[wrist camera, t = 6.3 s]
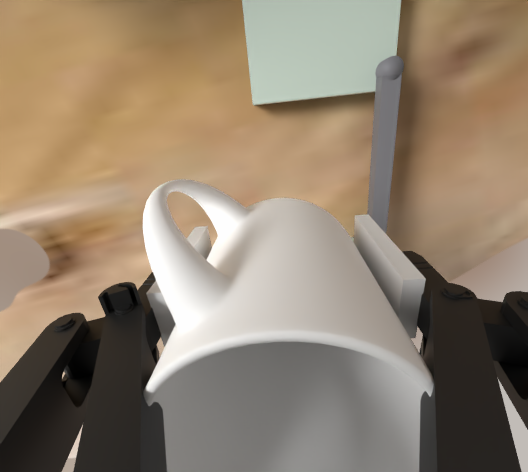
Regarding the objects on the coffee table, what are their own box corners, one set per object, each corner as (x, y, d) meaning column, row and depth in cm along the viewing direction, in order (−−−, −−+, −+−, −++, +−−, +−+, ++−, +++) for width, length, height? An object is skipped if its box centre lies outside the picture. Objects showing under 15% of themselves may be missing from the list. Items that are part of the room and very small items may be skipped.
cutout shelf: (245, 9, 25) (239, -10, 21) (392, -12, 24) (413, -36, 20) (273, 293, 38) (273, 313, 34) (369, 288, 37) (379, 308, 33)
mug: (261, 107, 13) (223, 92, 4) (375, 271, 17) (505, 477, 7) (147, 204, 16) (-55, 348, 6) (269, 330, 20) (261, 543, 10)
